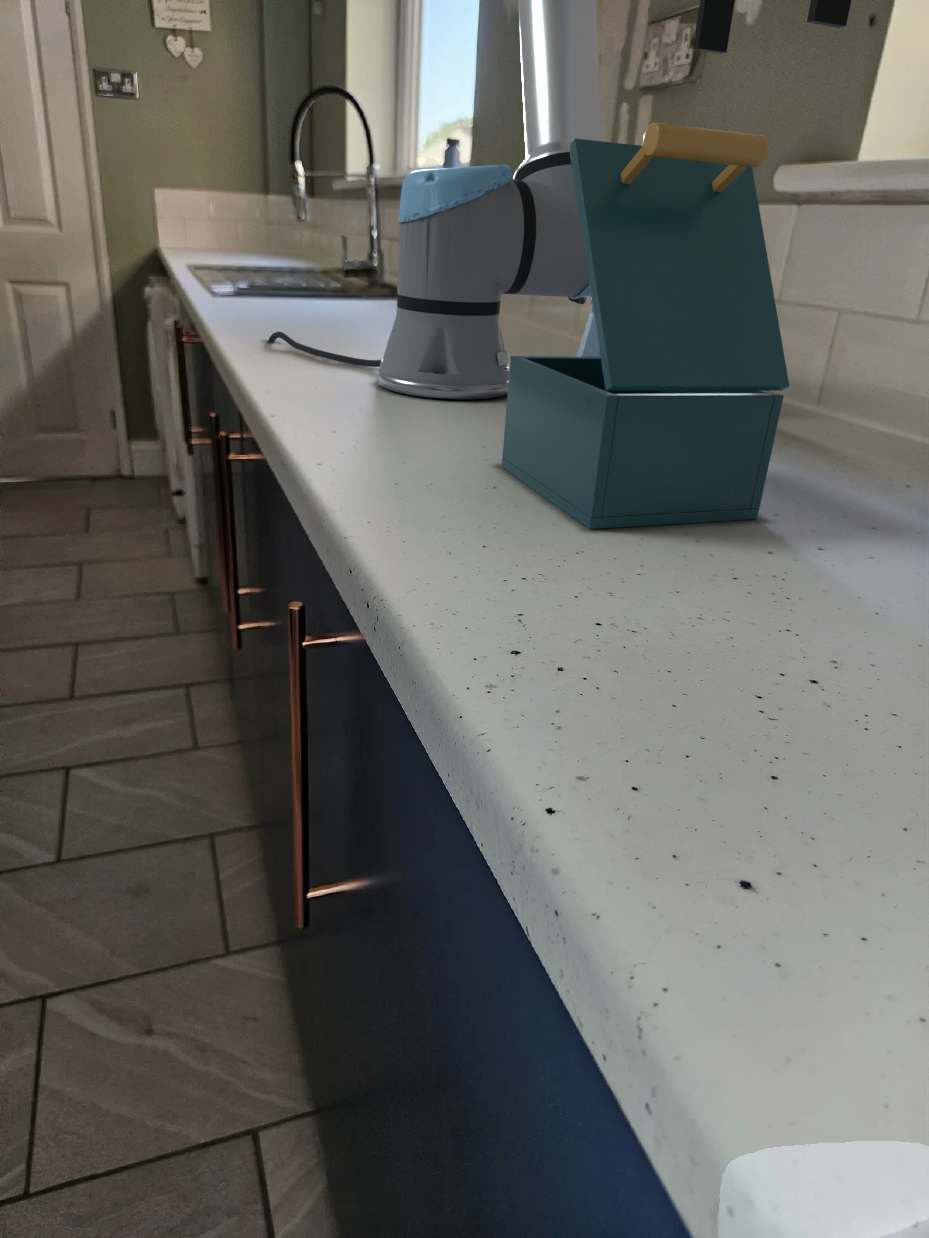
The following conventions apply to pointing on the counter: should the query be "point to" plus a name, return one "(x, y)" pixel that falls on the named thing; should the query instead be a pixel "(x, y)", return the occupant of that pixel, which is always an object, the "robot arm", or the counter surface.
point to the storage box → (635, 446)
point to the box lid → (679, 261)
